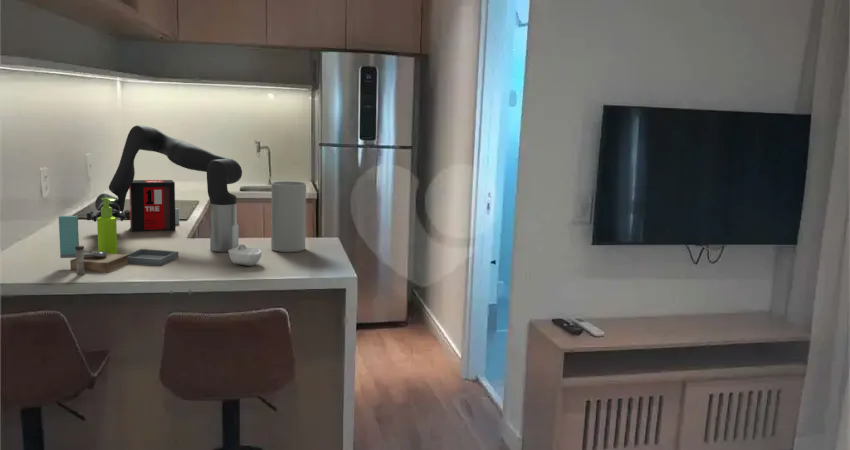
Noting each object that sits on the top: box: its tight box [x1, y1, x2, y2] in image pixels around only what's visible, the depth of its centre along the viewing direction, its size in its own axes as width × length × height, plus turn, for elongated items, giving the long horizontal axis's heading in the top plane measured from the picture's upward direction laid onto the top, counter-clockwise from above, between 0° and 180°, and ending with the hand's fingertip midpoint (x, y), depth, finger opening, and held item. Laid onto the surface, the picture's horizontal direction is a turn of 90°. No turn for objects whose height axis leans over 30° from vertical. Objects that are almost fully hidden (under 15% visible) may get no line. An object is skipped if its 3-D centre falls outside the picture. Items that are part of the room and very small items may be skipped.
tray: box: [125, 248, 179, 267], centre depth 228 cm, size 14×13×2 cm
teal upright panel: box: [58, 215, 107, 259], centre depth 213 cm, size 13×4×13 cm, turn 108°
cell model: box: [228, 243, 262, 267], centre depth 227 cm, size 10×12×7 cm
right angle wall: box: [175, 207, 180, 226], centre depth 297 cm, size 12×12×8 cm
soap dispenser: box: [96, 198, 118, 254], centre depth 230 cm, size 6×7×20 cm
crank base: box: [69, 245, 129, 276], centre depth 213 cm, size 12×18×9 cm
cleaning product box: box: [128, 179, 176, 233], centre depth 279 cm, size 16×9×20 cm, turn 117°
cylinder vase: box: [270, 180, 307, 253], centre depth 252 cm, size 12×12×25 cm
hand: (108, 218), depth 239 cm, fingers open, 8 cm apart
